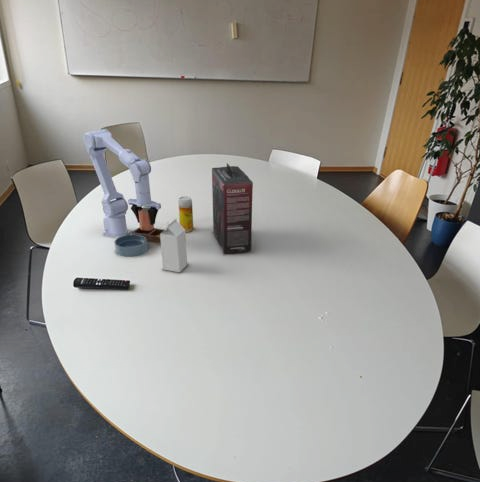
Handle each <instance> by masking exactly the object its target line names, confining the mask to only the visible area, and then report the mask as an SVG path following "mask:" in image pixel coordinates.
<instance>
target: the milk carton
mask: <svg viewBox="0 0 480 482" xmlns="http://www.w3.org/2000/svg"><path fill="white" fill-rule="evenodd" d="M163 228H164V229H163V230H164V231H163V232H162V233H161V234H160V240H161V244H160V249H161V251H160V252H161V261H162V262H161V263H162V269H163V270H165V271H170V272H174V273H175V272H176V273H181V272H182V271H183V270H184V268H186V267H187V265H188V253H187V251H188V250H187V236H186V232H185V229H184V228H183V227H182V226H181V225H180V222H178V220H177V218H174V219H173V220H172V221H171V222H169V223H167V224H165V225H163Z"/></svg>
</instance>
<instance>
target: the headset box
mask: <svg viewBox="0 0 480 482" xmlns="http://www.w3.org/2000/svg"><path fill="white" fill-rule="evenodd" d="M253 188H254V182H253V180H251V179H250V178H249V176H248V175H247V174H246V173H245V171H244V170H242V169H241V168H240V167H239V166H238V165H237V166H236V165H230V164H229V163H226V166H220V167H219V166H218V167H211V189H212V193H211V195H212V228H213V229H212V230H213V231H212V232H213V235H214V236H215V238H216V241H217V243H218V244H219V246H220V248H221V251H222V252H223V254H235V253H245V252H246V253H247V252H252V235H253V234H252V233H253V232H252V231H253V230H252V227H253V192H254V191H253V190H254V189H253Z"/></svg>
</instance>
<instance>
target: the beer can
mask: <svg viewBox="0 0 480 482" xmlns="http://www.w3.org/2000/svg"><path fill="white" fill-rule="evenodd" d="M193 211H194V210H193V199H192V197H190V196H179V198H178V216H179V217H178V218H179V224H180V225H181V226H182V227H183V228H184V229H185V233H189V232H192V231H193V229H194V213H193Z"/></svg>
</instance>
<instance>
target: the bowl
mask: <svg viewBox="0 0 480 482" xmlns="http://www.w3.org/2000/svg"><path fill="white" fill-rule="evenodd" d="M114 249H115V253H116V254H117V255H119V256H120V257H131V258H132V257H138V256H141V255H143V254H145V253H146V252H147V251H148V249H149V247H148V242H147V239H146V238H145V237H144V236H141V235H132V234H127V235H125V236H121V237H116V239H115V240H114Z"/></svg>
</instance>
